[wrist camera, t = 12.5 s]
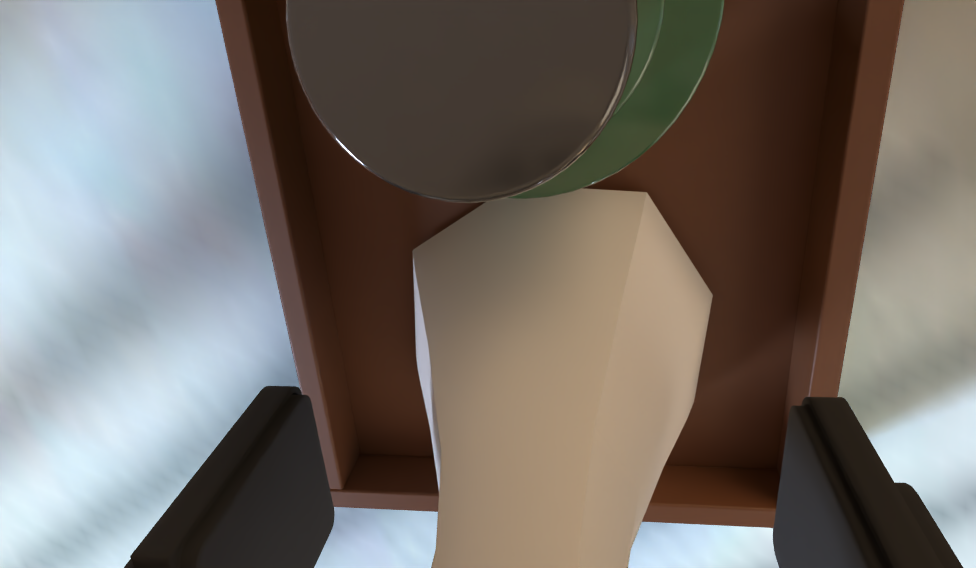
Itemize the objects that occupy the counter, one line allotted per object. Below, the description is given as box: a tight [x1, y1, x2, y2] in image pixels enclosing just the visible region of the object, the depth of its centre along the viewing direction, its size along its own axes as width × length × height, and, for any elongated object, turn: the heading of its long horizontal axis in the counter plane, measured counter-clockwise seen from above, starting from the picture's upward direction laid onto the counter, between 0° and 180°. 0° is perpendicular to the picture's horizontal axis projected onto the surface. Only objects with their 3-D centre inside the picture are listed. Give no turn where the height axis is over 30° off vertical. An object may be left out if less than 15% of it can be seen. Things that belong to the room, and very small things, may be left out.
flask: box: [413, 188, 713, 568], centre depth 12 cm, size 7×7×10 cm
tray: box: [215, 0, 904, 528], centre depth 13 cm, size 22×12×2 cm, turn 4°
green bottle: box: [286, 0, 725, 203], centre depth 9 cm, size 5×5×9 cm
